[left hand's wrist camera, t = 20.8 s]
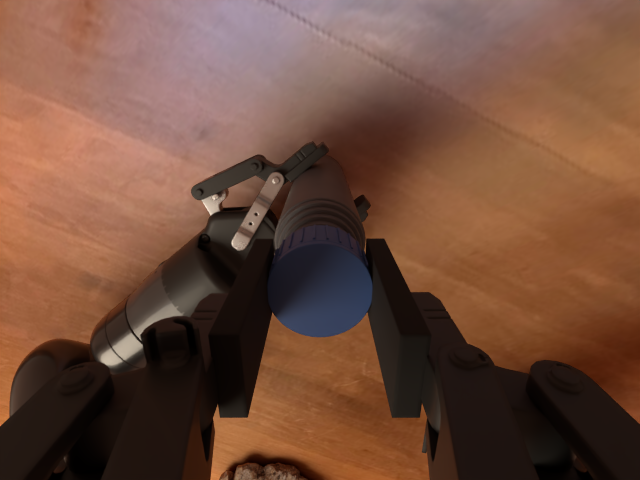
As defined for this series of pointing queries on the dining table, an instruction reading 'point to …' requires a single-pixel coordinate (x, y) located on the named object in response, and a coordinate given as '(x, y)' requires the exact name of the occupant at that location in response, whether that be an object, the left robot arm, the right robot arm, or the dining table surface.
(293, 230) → the bottle
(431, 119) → the dining table surface
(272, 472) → the rock
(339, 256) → the cap
